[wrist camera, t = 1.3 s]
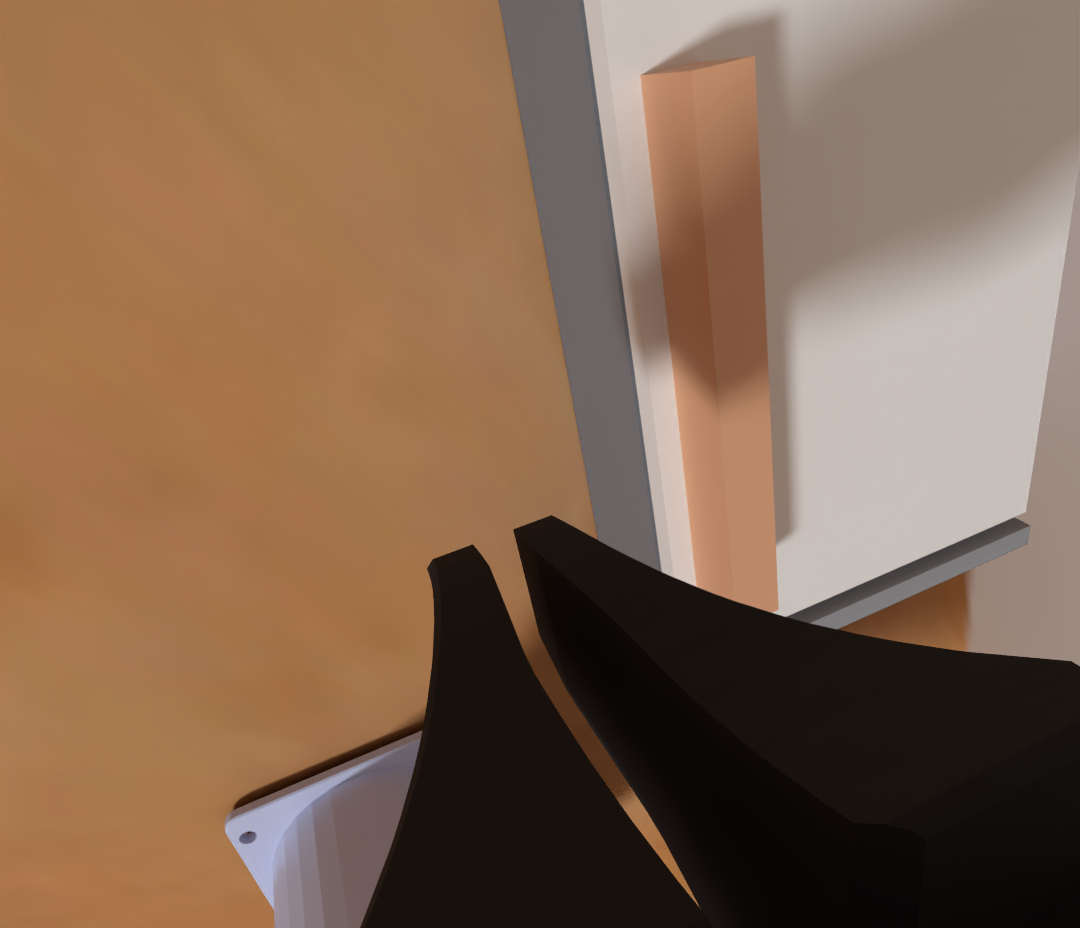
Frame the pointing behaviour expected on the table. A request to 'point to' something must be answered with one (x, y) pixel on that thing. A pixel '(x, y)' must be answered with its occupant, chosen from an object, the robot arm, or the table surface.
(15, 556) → the table surface
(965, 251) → the lid
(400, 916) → the robot arm
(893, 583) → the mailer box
